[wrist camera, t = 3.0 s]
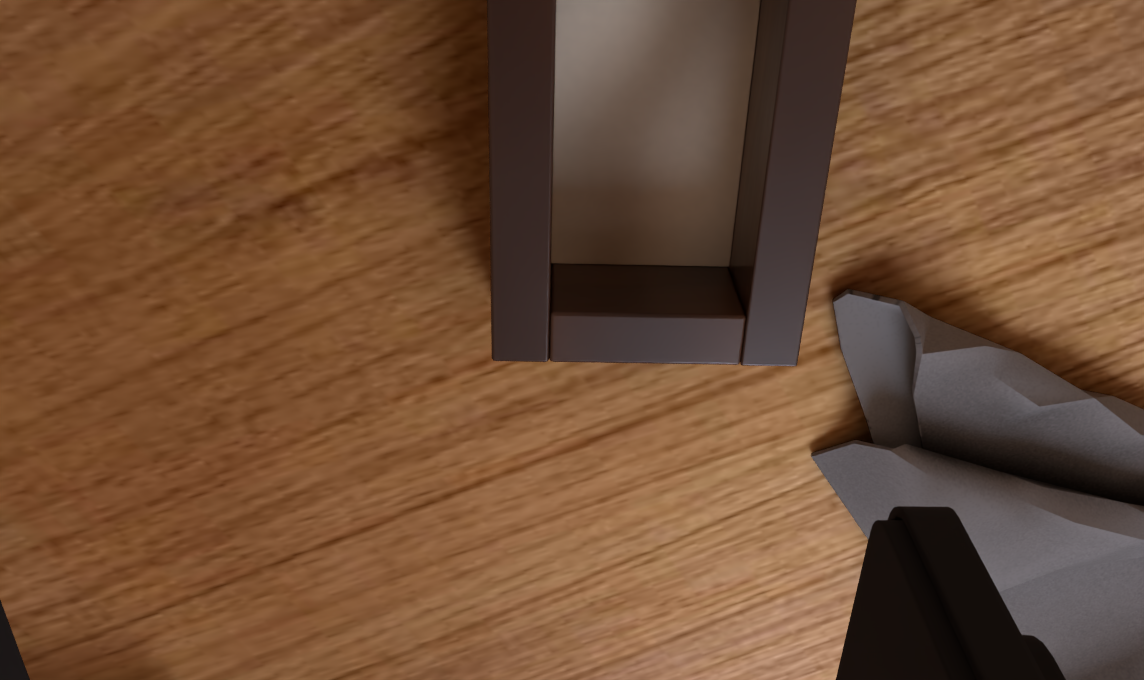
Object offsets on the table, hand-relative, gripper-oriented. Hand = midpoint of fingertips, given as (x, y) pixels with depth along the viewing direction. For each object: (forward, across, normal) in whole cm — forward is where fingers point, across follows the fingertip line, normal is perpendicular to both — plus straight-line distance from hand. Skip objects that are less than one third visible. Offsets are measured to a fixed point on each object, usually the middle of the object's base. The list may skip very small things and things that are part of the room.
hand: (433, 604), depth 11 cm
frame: (+16, -4, 0) cm, 16 cm away
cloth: (+16, -18, +15) cm, 28 cm away
